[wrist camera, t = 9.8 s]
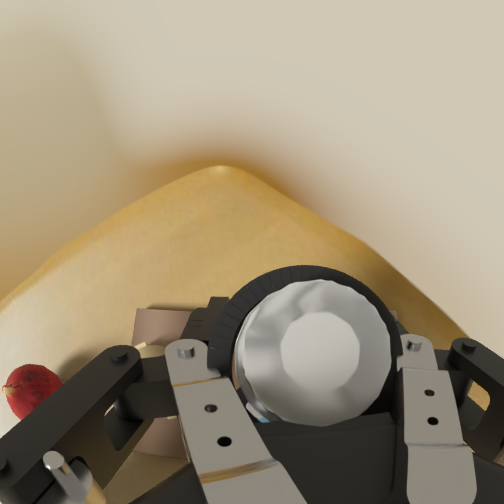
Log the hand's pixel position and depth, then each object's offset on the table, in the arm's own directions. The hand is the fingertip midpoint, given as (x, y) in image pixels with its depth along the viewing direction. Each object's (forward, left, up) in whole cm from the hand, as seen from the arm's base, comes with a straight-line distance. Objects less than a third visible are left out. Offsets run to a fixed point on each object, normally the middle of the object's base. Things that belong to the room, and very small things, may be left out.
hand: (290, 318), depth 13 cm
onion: (-20, -5, -15) cm, 26 cm away
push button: (0, -2, -5) cm, 5 cm away
